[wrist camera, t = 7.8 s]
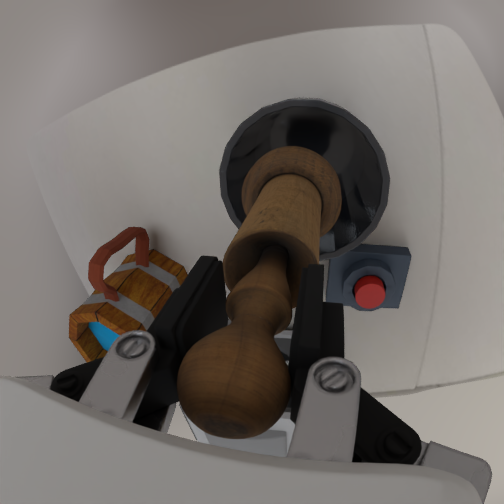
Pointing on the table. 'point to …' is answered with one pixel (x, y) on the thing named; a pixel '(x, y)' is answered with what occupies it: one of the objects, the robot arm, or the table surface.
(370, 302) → the button
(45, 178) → the table surface
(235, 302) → the mortar and pestle
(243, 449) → the alarm clock
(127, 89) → the table surface
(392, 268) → the housing
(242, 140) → the grey open cylinder
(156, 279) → the mug
